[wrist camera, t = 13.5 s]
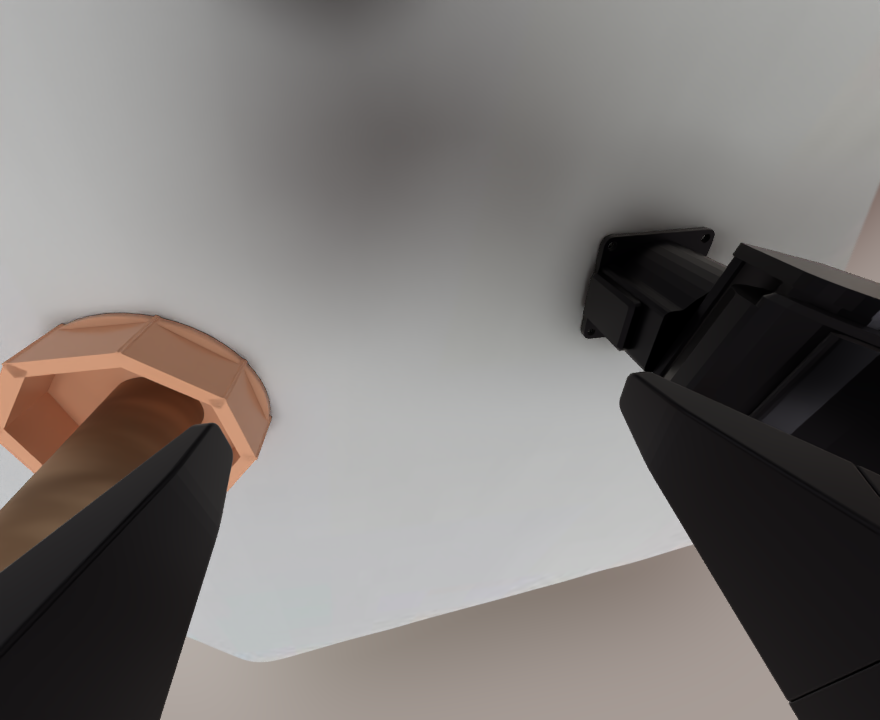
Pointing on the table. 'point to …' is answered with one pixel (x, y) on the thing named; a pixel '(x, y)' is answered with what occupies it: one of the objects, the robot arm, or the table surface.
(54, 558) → the robot arm
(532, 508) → the table surface
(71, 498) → the walnut peg
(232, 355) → the terracotta dish
